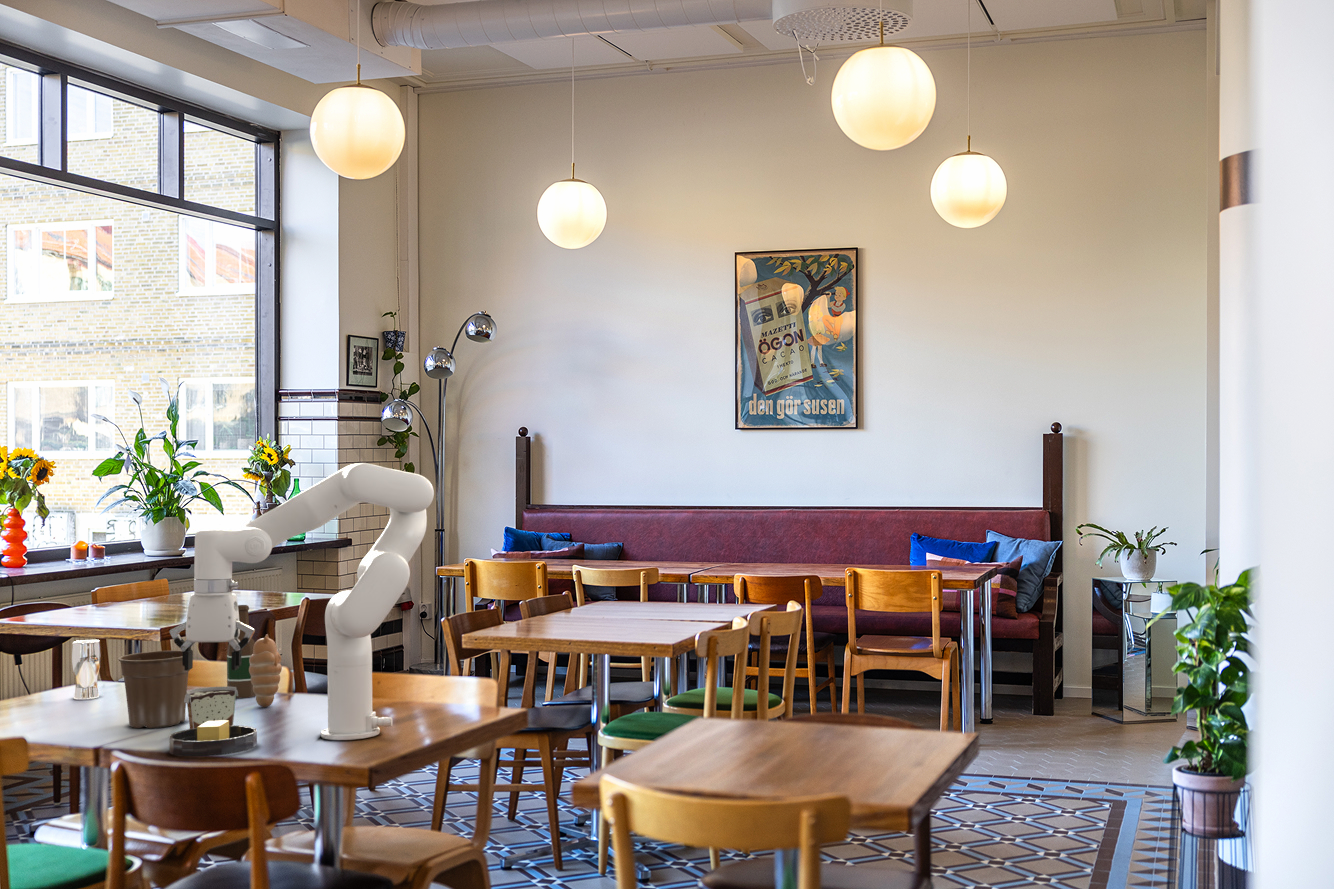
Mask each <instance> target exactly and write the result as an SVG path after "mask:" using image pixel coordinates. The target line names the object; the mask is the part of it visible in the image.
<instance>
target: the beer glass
mask: <svg viewBox="0 0 1334 889" xmlns="http://www.w3.org/2000/svg"><path fill="white" fill-rule="evenodd" d="M100 642H101V641H100V640H99V639H85V640H76V641H73V642H72V649H71V651H72V652H71V664H72V670H73V676H74V682H75V688H74V689H75V690H74V695H73V699H74V700H77V701H84V700H85V701H86V700H94V699H98V698H99V697H100V694H99V686H98V679H99V673H100V668H101V662H102V661H101V660H102V658H101V657H102V656H101V643H100Z"/></svg>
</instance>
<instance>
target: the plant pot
mask: <svg viewBox="0 0 1334 889" xmlns="http://www.w3.org/2000/svg"><path fill="white" fill-rule="evenodd" d="M182 657H183V651H181V650H157V651H153V650H152V651H146V652H145V651H143V652H135V653H130V654H125V655H122V656H119V657H118V658H117V659H118V662H120V668H121V675H122V677H123V680H124V688H125V696H126V705H127V715H128V724H129V727H131V728H136V729H142V728H144V727H146V728H147V729H155V728H160V729H161V728H167V727H171V726H176V725H179V724H180V723H184V722H185V721H186V708H187V703H184V699H185V695H186V693H187V691H188V683H189V672H190V670H188V671H185V670H184V666H183V665H182Z"/></svg>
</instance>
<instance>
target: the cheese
mask: <svg viewBox="0 0 1334 889" xmlns="http://www.w3.org/2000/svg"><path fill="white" fill-rule="evenodd" d="M228 738H229V720H222V721H207V722H205V723H203V724H202V725H200V726H198V727H197V741H208V740H220V739H228Z"/></svg>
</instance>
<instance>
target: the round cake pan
mask: <svg viewBox="0 0 1334 889" xmlns="http://www.w3.org/2000/svg"><path fill="white" fill-rule="evenodd" d="M168 736H169V737H168V752H169V754H171V755H174V756H179V757H213V756H223V755H231V754H237V753H241V752H245V751H249V750H253V749H254V748H256V746H258V730H257V728H255V727H252V726H248V725H234V724H233V725H231V726H229V738H228V739H220V740H208V741H197V728H193V729H190V728H188V729H184V730H180V731H176V732H173V733H171V734H169V735H168Z"/></svg>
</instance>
